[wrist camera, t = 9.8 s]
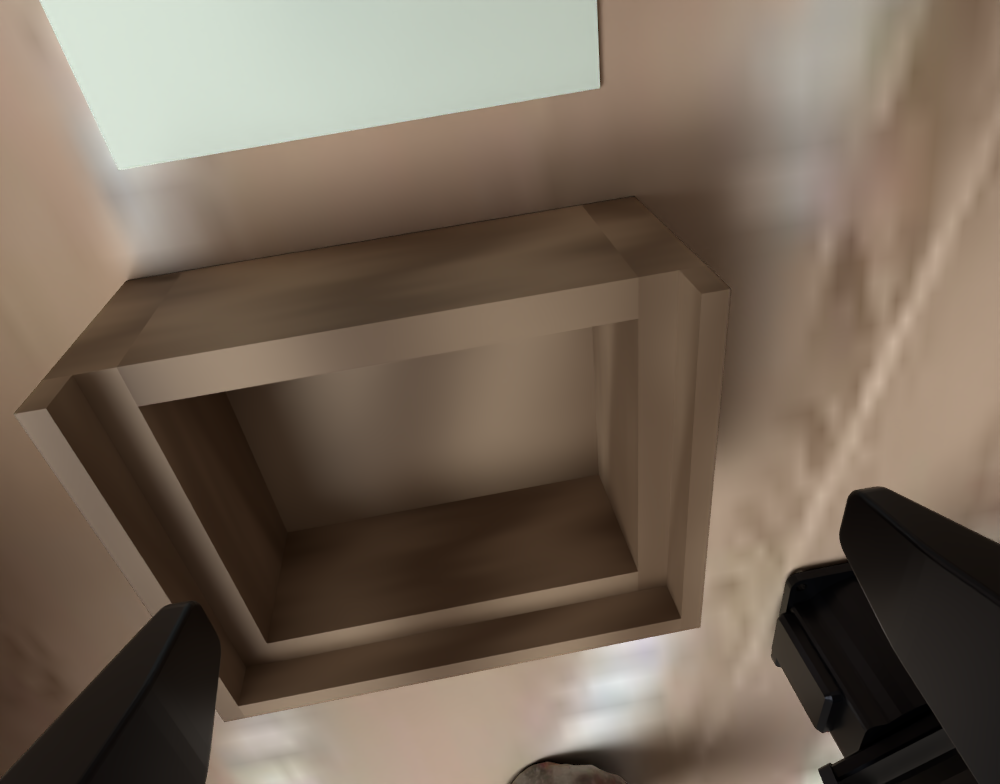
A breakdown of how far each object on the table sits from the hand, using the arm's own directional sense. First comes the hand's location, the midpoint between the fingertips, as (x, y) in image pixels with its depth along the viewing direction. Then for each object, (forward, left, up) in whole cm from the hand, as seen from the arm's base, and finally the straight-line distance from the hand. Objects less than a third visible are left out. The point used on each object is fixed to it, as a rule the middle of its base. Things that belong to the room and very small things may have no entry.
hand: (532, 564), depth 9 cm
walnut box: (+2, +5, -11) cm, 12 cm away
